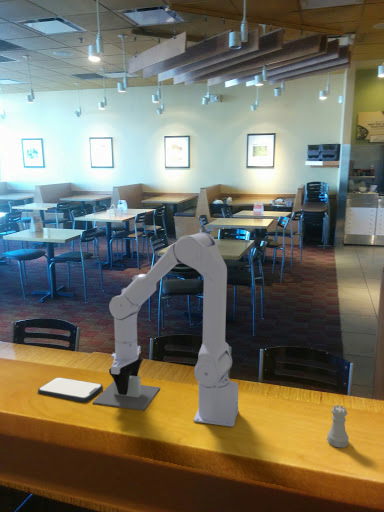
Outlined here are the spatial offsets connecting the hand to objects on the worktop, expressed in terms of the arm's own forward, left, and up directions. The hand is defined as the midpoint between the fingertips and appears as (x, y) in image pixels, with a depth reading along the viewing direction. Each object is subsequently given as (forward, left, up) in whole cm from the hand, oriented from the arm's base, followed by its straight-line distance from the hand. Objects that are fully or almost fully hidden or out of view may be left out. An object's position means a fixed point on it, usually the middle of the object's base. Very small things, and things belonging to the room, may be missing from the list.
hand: (127, 388), depth 109 cm
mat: (0, 0, -2) cm, 2 cm away
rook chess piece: (-52, +8, -2) cm, 53 cm away
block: (0, 0, -2) cm, 2 cm away
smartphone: (+16, +1, -3) cm, 17 cm away
